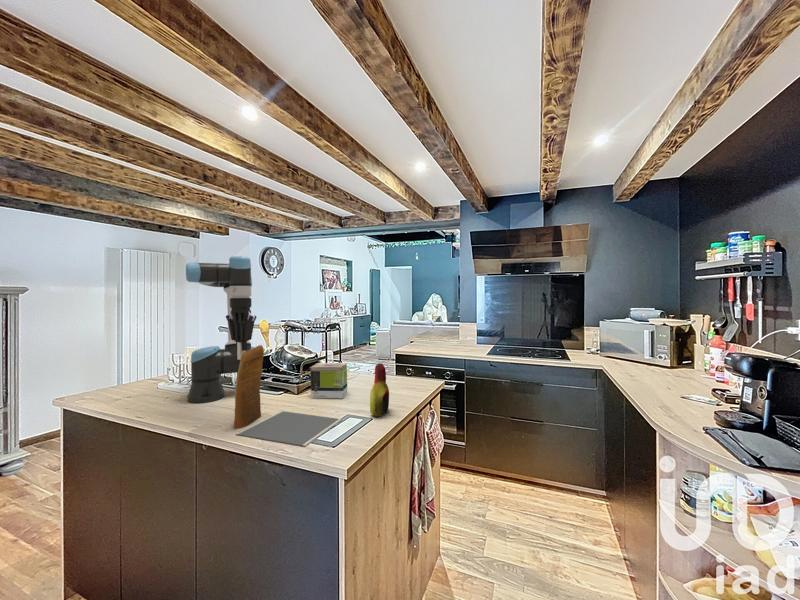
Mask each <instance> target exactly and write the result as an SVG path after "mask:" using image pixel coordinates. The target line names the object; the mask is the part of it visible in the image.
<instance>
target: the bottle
mask: <svg viewBox="0 0 800 600" xmlns="http://www.w3.org/2000/svg"><path fill="white" fill-rule="evenodd" d="M389 403H390V389H389V386H388V384H387V372H386V366H385V365H384V364H383V363H380V362H379V363H377V364H376V365H375V367H374V382H373V385H372V388H371V389H370V394H369V412H370V414H371V415H373V416H376V417H381V416H383V415H385V414H386V413H387V412H388V410H389Z"/></svg>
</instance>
